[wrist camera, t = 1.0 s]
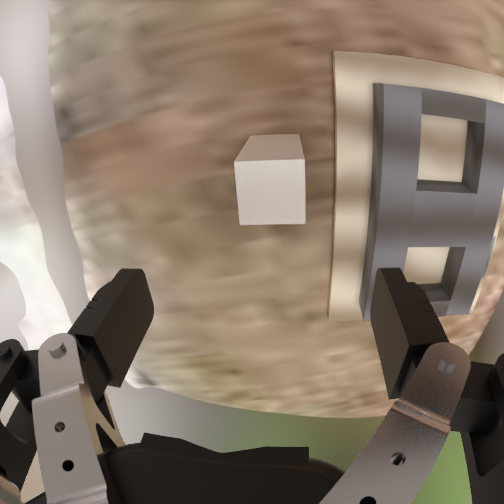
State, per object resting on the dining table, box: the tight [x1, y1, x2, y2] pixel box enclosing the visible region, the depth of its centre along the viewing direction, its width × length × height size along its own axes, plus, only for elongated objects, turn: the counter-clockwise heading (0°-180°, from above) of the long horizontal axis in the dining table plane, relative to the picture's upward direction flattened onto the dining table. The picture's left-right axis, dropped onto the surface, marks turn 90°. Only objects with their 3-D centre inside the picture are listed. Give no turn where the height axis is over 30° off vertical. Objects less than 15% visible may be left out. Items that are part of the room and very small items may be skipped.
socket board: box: [328, 51, 504, 321], centre depth 25 cm, size 26×18×4 cm
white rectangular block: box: [234, 134, 305, 225], centre depth 23 cm, size 4×4×9 cm
